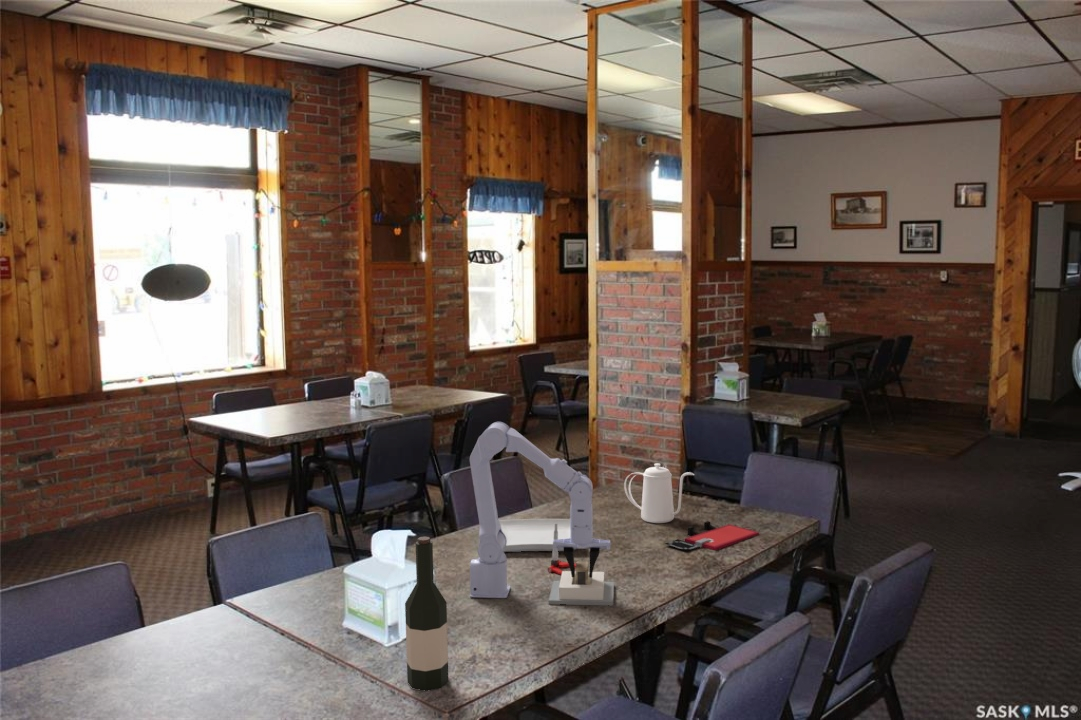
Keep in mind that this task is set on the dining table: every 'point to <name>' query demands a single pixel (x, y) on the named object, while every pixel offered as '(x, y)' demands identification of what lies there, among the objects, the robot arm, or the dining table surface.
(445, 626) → the wine bottle
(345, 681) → the dining table surface
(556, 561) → the tow hook
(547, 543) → the square plate
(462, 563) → the dining table surface
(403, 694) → the dining table surface
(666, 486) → the coffeepot
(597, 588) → the slotted block
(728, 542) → the red board with handle
